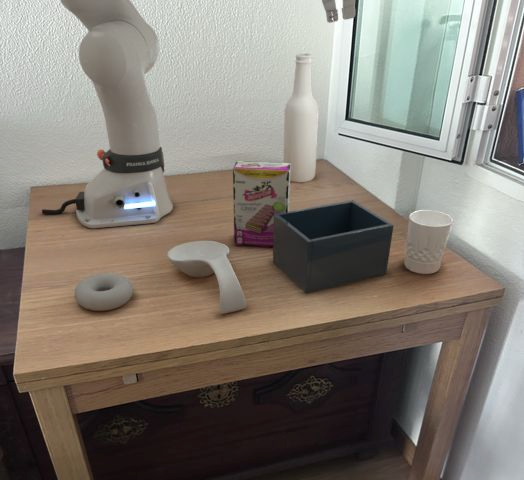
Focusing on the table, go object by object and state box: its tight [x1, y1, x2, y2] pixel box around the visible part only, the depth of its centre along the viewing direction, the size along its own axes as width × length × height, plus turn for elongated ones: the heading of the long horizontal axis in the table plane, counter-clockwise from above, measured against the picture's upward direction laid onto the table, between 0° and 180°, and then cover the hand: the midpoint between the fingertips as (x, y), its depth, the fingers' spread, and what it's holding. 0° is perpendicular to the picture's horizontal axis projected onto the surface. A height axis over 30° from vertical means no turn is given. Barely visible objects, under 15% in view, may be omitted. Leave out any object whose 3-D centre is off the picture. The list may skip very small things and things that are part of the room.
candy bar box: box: [232, 160, 291, 248], centre depth 110 cm, size 11×5×16 cm, turn 84°
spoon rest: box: [166, 240, 247, 315], centre depth 99 cm, size 24×12×7 cm, turn 26°
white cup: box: [403, 209, 454, 275], centre depth 103 cm, size 8×8×10 cm
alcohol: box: [282, 53, 320, 183], centre depth 140 cm, size 9×9×30 cm
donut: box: [74, 272, 134, 312], centre depth 95 cm, size 10×4×10 cm
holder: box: [272, 200, 395, 294], centre depth 103 cm, size 18×14×10 cm
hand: (340, 20), depth 93 cm, fingers open, 8 cm apart
